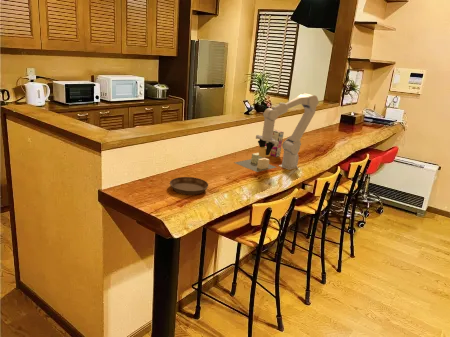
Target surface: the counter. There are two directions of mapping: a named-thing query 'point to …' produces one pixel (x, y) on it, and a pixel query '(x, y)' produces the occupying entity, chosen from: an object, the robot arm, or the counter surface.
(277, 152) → the candy bar box
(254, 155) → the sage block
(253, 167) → the rubber mat
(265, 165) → the cream block
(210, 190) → the counter surface
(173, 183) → the plant saucer
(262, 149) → the mustard block
